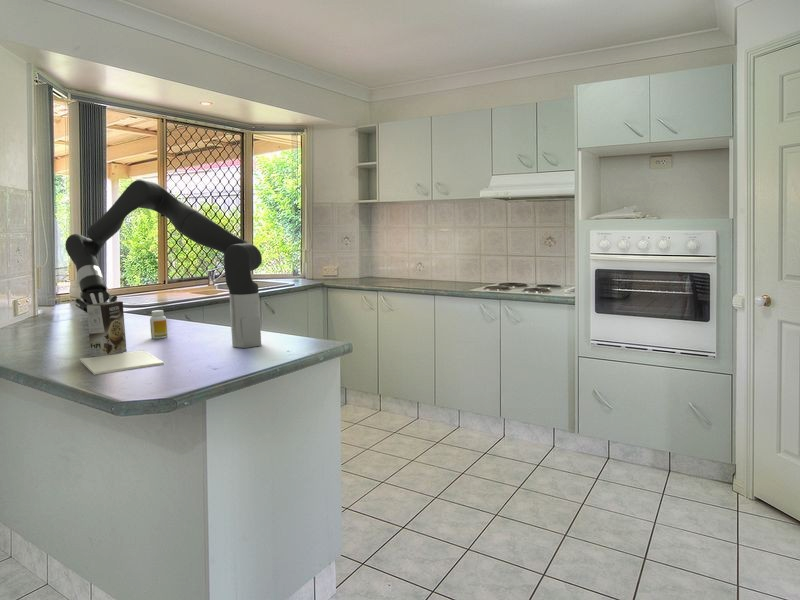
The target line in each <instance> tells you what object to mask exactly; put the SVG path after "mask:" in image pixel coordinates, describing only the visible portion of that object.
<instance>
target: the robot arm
mask: <svg viewBox="0 0 800 600" xmlns="http://www.w3.org/2000/svg"><path fill="white" fill-rule="evenodd" d="M138 208H140V209H147V210H151V211H154V212H156V213H159V214H160V215H162V216H164V217H166V218H167V219H168V220H169V221H170V222H171V223H172V225H173V226H174V228H175V229H176V230H177V231H178V232H179V233H180V234H181V235H182V236H184V237H186V238H188V239H189V240H190V241H192V242H194V243H195V244H199V245H200V246H203V247H206V248H208V249H212V250H215V251H217V252H220V253H222V254H223V266H224V267H223V268H224V275H225V276H224V277H225V283H226V284H225V285H226V286H227V288H228V294H229V295H228V296H229V311H230V312H229V313H230V325H231V326H230V328H231V331H230V332H231V342H232V343H231V345H232V347H233V348H242V349H246V348H247V349H248V348H254V347H260V346H261V347H262V333H261V319H260V318H261V313H260V311H261V310H260V295H259V292H260V291H259V285H258V284H257V282H255V281H254V280H253V279H252V273H251V272H252V271H255V270H257V269H258V268H259V267H260V266H261V265H262V261H263V258H262V253H261V251H260V250H259V248H258V247H257V246H255V245H254V244H252V243H251V242H248V241H247V240H244V239H242V238H240V237H238V236H236V235H234V234H232V233H231V232H230V231H228V230H227V229H225V228H224V227H222V226H221V225H219V224H218V223H216V222H215V221H214V220H212V219H211V218H209V217H207V216H206V215H204V214H203V213H201V212H199V211H198V210H196V209H195V208H194V207H191V205H187V204H186V203H184V202H183V201H180V200H178V198H176V197H175V196H174V195H173V194H171V193H170V192H169V191H168V190H166V188H164V187H163V186H161V185H160V184H158V183H156V182H153V181H149V180H143V179H137V180H134V181H133V182H131V183H130V184H129V185H128V186H127V187H126V188H125V190H124V191H123V192H122V193H121V195H120V196H119V197H118V198H117V199H116V200H115V201H114V203H113V204H112V206H110V208H109V209H108V210H106V212H105V213H104V214H103V215H102V216H100V217H99V218H98V219H97V220H96V221H94V222H93V223H92V224H91V225H90V226H89V227H88V228H87V231H86V234H87V236H88V237H86V236H84V235H82V234H78V233H73V234H71V235H69V236H67V238H66V240H65V251H66V253H67V255H68V256H69V258H70V259H71V261H72V262H73V264H74V266H75V269H76V272H77V281H78V282H77V283H78V286H79V287H80V291H81V292H80V293H81V297H80V298H76V299H75V307H77V308H78V309H80V310H82V311H83V312H84V313H86V314H88V313H87V305H91V304H97V303H103V302H118V301H117V300H118V296H116V295H113V296H112V295H111V294H110V292H109V291H108V290H107V286H106V283H105V279H104V276H103V272H102V271H101V268H100V264H99V261H98V259H97V256H98V254H99V253H100V251H101V250H102V248H104V245H105V243H106V242H107V241H108V240H110V238H112V237H113V236H114V235H116V234H117V232H119V231H120V229H121V228H122V226H123V223H124V221H125V219H126V217H127V216H128V215H129V214H131V213H132V212H134V211H135V210H137V209H138Z"/></svg>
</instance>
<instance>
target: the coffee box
mask: <svg viewBox="0 0 800 600" xmlns="http://www.w3.org/2000/svg"><path fill="white" fill-rule="evenodd" d="M86 314H87V324H88V325H87V326H88V338H89V348H90V349H89V350H90V357H98V356H106V355H113V354H120V353H125V352H127V350H128V349H127V340H126V338H127V337H126V327H125V313H124V302H123V301H117V302H109V301H107V302H103V303H97V304H91V305H87V313H86Z"/></svg>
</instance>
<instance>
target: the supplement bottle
mask: <svg viewBox="0 0 800 600" xmlns="http://www.w3.org/2000/svg"><path fill="white" fill-rule="evenodd" d="M164 314H165V313H164V310H163V309H157V310H152V311H151V317H150V318H149V323H150V324H149V325H150V338H151V339H154V340H155V339H165V338H167V337H168V326H167V325H168V324H167V317H166V316H165V315H164Z"/></svg>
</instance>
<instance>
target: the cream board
mask: <svg viewBox="0 0 800 600" xmlns="http://www.w3.org/2000/svg"><path fill="white" fill-rule="evenodd" d="M79 360H80V361H79V362H80V363H81V364H83V365H84V366H85V367H86V368H87V369H88V370H89V371H90V372H91V373H92V375H94V376H95V375H102V374H108V373H115V372H121V371H127V370H135V369H141V368H147V367H153V366H155V367H156V366H162V365H164V364H165V363H164V361H162V360H161V359H160V358H158V357H156V356H154V355H152V354H151V353H149V352H147V351H146V350H136V351H129V352H121V353H118V354H113V355H106V356H90V357H86V358H85V357H84V358H79Z"/></svg>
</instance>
